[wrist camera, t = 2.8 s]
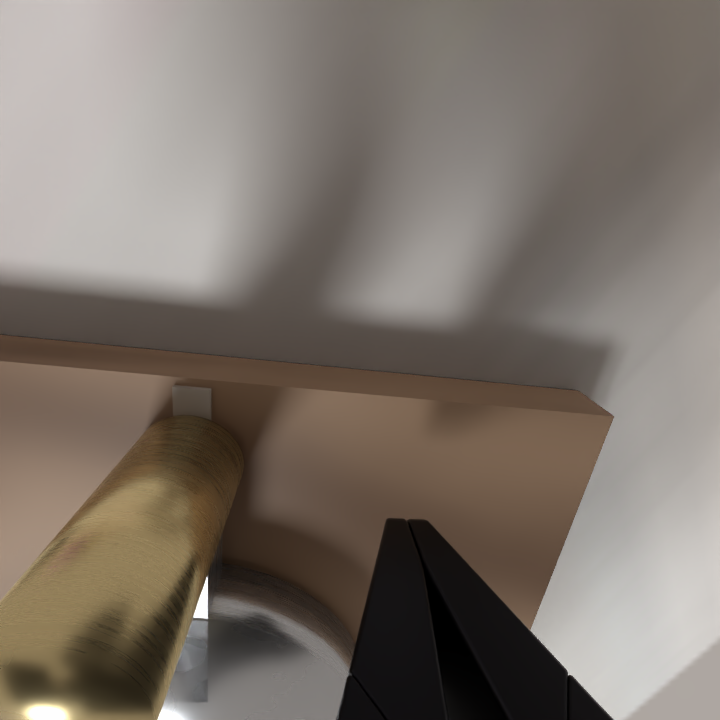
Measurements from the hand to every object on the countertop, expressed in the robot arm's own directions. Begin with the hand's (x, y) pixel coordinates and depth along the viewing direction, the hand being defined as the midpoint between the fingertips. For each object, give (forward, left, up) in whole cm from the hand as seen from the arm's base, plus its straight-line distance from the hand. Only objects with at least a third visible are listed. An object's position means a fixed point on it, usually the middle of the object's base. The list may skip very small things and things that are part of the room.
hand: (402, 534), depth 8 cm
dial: (-6, +5, -2) cm, 8 cm away
